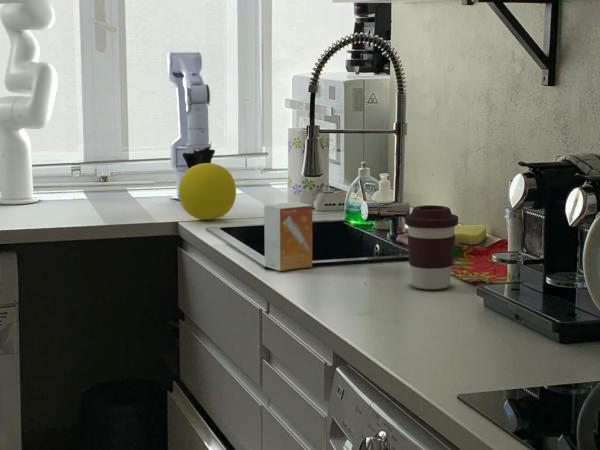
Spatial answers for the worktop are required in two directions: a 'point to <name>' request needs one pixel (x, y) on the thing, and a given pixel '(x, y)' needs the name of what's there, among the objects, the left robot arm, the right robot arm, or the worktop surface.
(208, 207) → the toy
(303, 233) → the small box
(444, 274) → the coffee cup
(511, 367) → the worktop surface
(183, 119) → the right robot arm
